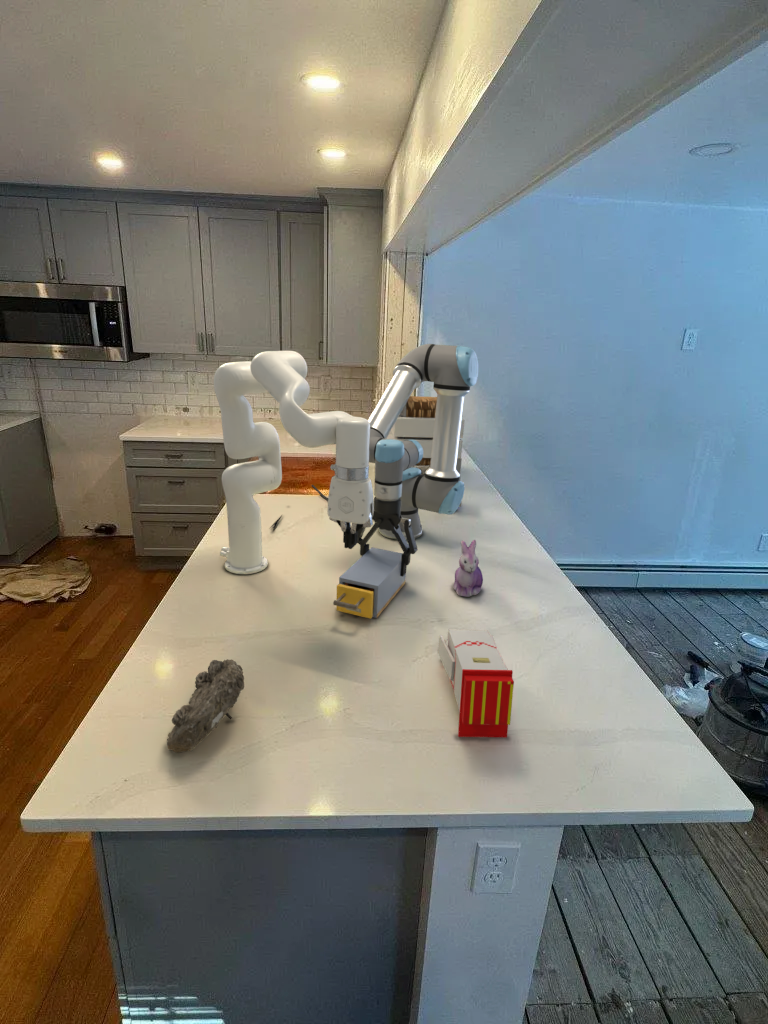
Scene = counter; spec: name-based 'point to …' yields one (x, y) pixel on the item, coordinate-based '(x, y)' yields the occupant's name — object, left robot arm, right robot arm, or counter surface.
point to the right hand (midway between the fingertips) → (384, 570)
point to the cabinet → (377, 576)
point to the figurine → (468, 572)
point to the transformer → (421, 427)
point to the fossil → (206, 705)
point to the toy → (478, 682)
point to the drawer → (355, 600)
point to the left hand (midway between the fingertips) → (350, 546)
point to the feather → (275, 523)
